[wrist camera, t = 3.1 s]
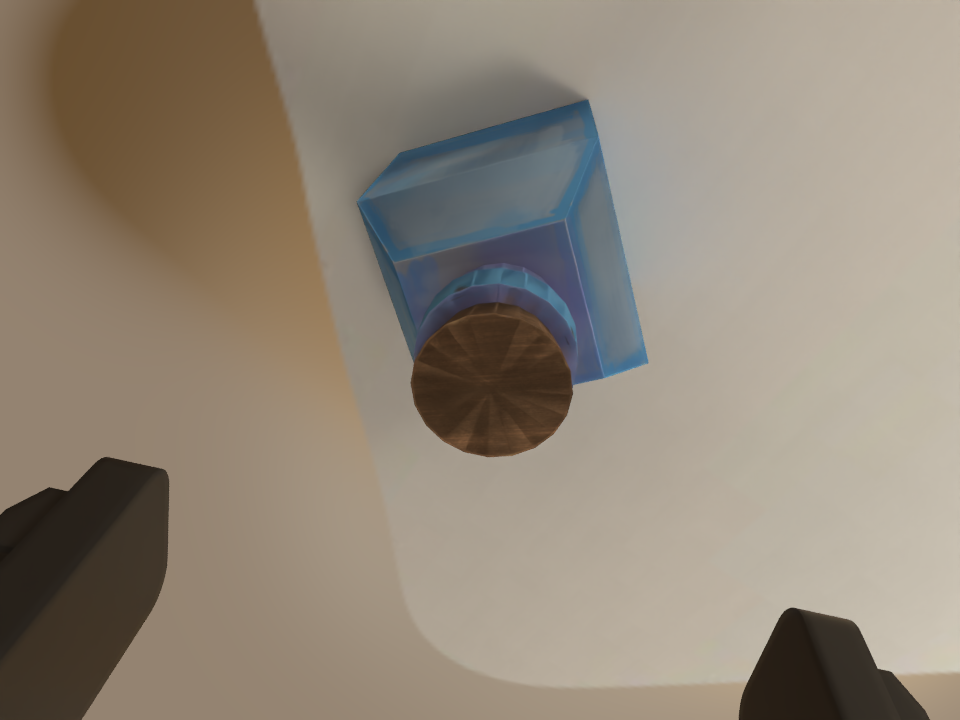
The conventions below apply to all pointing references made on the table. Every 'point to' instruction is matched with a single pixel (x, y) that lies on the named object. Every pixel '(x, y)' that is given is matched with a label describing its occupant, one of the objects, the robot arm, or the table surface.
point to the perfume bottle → (505, 276)
